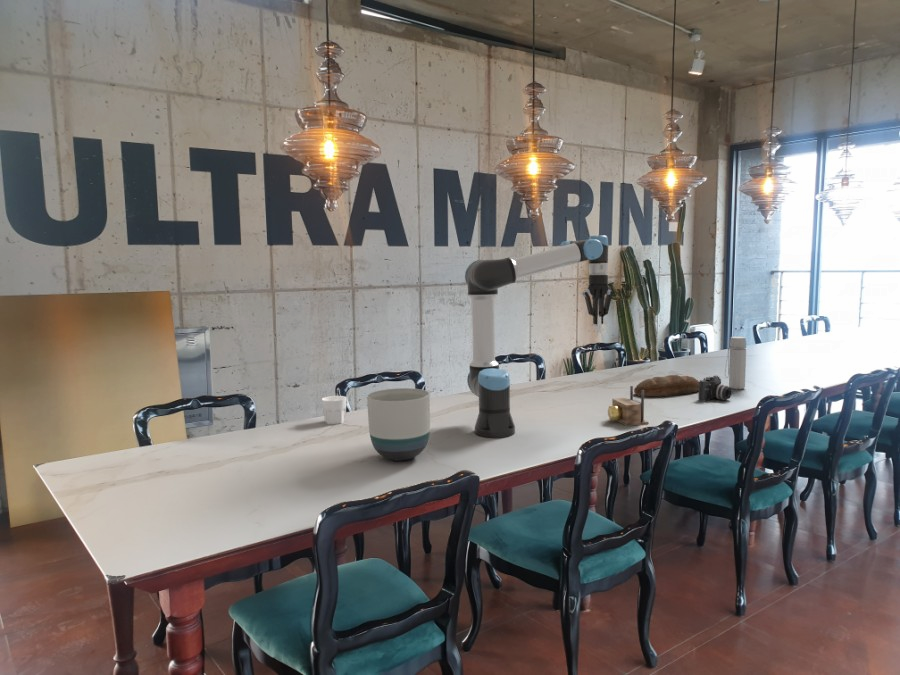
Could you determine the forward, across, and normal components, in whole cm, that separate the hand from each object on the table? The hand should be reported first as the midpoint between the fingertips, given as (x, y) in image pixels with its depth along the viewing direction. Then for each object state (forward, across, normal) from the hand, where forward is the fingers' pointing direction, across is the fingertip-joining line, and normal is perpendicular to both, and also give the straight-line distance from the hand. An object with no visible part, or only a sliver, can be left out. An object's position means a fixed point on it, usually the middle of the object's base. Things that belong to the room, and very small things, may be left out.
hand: (598, 332), depth 247 cm
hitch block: (+34, +8, -13) cm, 38 cm away
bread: (+35, +50, +31) cm, 68 cm away
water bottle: (+35, +85, +30) cm, 97 cm away
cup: (+35, -107, +20) cm, 114 cm away
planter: (+35, -86, -35) cm, 99 cm away
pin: (+34, +6, -13) cm, 36 cm away
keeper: (+33, +11, -13) cm, 37 cm away
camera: (+35, +62, +11) cm, 72 cm away
